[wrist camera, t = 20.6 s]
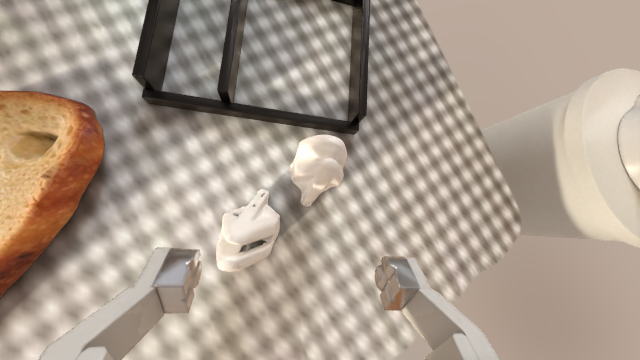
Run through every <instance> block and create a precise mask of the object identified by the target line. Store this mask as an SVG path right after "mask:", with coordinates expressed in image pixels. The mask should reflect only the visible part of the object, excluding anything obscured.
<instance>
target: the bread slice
mask: <svg viewBox="0 0 640 360" xmlns="http://www.w3.org/2000/svg"><path fill="white" fill-rule="evenodd" d="M103 155H104V135H103V129H102V127H101V125H100V124H99V122H98V120H97V118H96V116H95V112H94V110H93V109H91V108H90V107H89V106H87V105H86V104H83V103H80V102H77V101H74V100H70V99H66V98H63V97H59V96H55V95H51V94H46V93H41V92H33V91H0V298H1V297H2V296H3V295H4V293H5V292H6V291H7V289H8V288H9V287H10V286H11V285H12V284H13V283H15V282H16V281H17V280H18V279H19V278H20V276H21V275H22V274H23V273H24V272H25V271H26V270H27V269H28V268H29V267H30V266H31V265H32V263H33V262H34V261H35V260H36V259H37V258H38V257H39V256H40V254H41V253H42V252H43V251H44V250H45V249H46V248H47V247H48V246H49V244H50V243H51V242H52V240H53V239H54V238H55V236H56V235H57V234H58V233H59V231H60V230H61V229H62V228H63V227H64V225H65V224H66V223H67V222H68V221H69V220H70V218H71V217H72V215H73V214H74V212H75V210H76V209H77V207H78V204H79V201H80V198H81V196H82V195H83V193H84V192H85V190H86V188H87V186H88V185H89V183H90V182H91V180H92V178H93V177H94V175H95V173H96V171H97V170H98V168H99V165H100V163H101V161H102V158H103Z"/></svg>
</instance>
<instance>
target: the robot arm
mask: <svg viewBox="0 0 640 360" xmlns="http://www.w3.org/2000/svg"><path fill="white" fill-rule="evenodd" d="M618 142H619V149H620V154H621V157H622V161H623V163H624V166H625V168H626V170H627V172H628V174H629V176H630V178H631V179H632V181H633V182H634V184H635V185H636V186H637V187H638V189H639V190H640V95H639V96H637V98H636V100H635V103H634V106H633V108H632V109H631V110H629V111H628V112H627V113H626V114H625V115H624V116H623V118H622V120H621V123H620V126H619V133H618ZM199 258H200V250H197V249H180V248H161V247H157V248H156V249H155V250H154V251H153V253H152V255H151V256H150V258H149V260H148V262H147V264H146V265H145V267H144V269H143V271H142V273H141V274H140V276H139V278H138V280H137V282H136V283H135V285H134V287H128V288H127V289H126V290H124V291H123V292H121V293H120V294H119V295H117V296H116V297H115V298H113V299H112V300H111V301H109V302H108V303H106V304H105V305H104V306H102V307H101V308H100V309H98V310H97V311H96V312H94V313H93V314H91V315H90V316H89V317H87V318H86V319H85V320H83V321H82V322H81V323H79V324H78V325H76V326H75V327H74V328H72V329H71V330H70V331H68V332H67V333H66V334H64V335H63V336H61V337H60V338H59V339H57V340H56V341H55V342H53V343H52V344H51V345H49V346H48V347H47V348H46V349H45V351H44V352H43V353H42V355H41V356H40V358H39V359H38V360H122V359H123V358H124V356H125V355H126V354H127V353H128V352H129V351H130V350H131V349H132V348H133V347H134V346H135V345H136V344H137V343H138V342H139V341H140V340H141V339H142V338H143V337H144V336H145V335H146V334H147V332H148V331H149V330H150V329H151V328H152V327H153V326H154V325H155V324H156V323H157V322H158V321H159V320H160V319H161V318H162V317H163V316H164V314H165V313H189V310H190V307H191V304H192V301H193V298H194V290H193V289H194V288H195V287H196V286H197V285H198V283H199V279H200V275H201V268H202V264H201V261H200V260H199ZM381 263H382V264H381V265H380V266H378V267H377V269H376V271H375V282H376V285H377V287H378V288H379V289H380V290H381V294H380V298H381V301H382V304H383V307H384V310H402V311H401V312H402V313H403V314H404V315H405V317H406V318H407V319H408V320H409V322H410V323H411V324H412V325H413V326H414V328H415V329H416V330H417V331H418V333H419V334H420V335H421V336H422V337H423V339H424V340H425V341H426V342H427V343H428V345H429V346H430V347H431V348H432V350H433V351H432V352H431V353H430V354H429V355H428V356H427V357H426V359H425V360H500V359H499V358H498V356H497V354H496V353H495V351H494V349H493V348H492V346H491V345H490V343H489V341H488V339H487V338H486V336H485V334H484V333H483V331H481V330H480V329H479V328H478V327H477V326H476V325H474V324H473V323H472V322H471V321H470V320H469V319H468V318H467V317H465V316H464V315H463V314H462V313H461V312H460V311H458V310H457V309H456V308H455V307H454V306H453V305H452V304H451V303H449V302H448V301H447V300H446V299H445V298H444V297H443V296H441V295H440V294H439V293H438V292H437V291H436V290H435V289H431V287H430V285H429V283H428V281H427V279H426V277H425V276H424V274H423V272H422V270H421V268H420V266H419V264H418V262H417V260H416V259H415V258H412V257H383V258H382V260H381Z"/></svg>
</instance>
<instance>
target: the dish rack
mask: <svg viewBox="0 0 640 360" xmlns="http://www.w3.org/2000/svg"><path fill="white" fill-rule="evenodd" d="M247 1H248V0H231V5H230V11H229V18H228V24H227V31H226V37H225V44H224V50H223V57H222V63H221V70H220V76H219V83H218V89H217V90H218V92H219V95H220V98H221V100H222V101H219V100H212V99H206V98H200V97H194V96H188V95H182V94H175V93H169V92H163V91H161V90H162V85H163V80H164V75H165V69H166V64H167V59H168V54H169V49H170V44H171V39H172V34H173V29H174V24H175V19H176V14H177V9H178V4H179V0H149V2H148V6H147V11H146V15H145V20H144V24H143V29H142V33H141V37H140V42H139V46H138V51H137V55H136V60H135V64H134V68H133V73H132V76H133V77H134V78H135V79H136V80H137V81H138V82H139V83H140V84H141V85H142V86H143V87H144V89H143V94H142V98H143V99H144V100H146V101H147V102H148V103H149V104H155V105H161V106H168V107H175V108H181V109H188V110H195V111H201V112H208V113H214V114H221V115H228V116H234V117H241V118H248V119H254V120H261V121H268V122H274V123H281V124H288V125H294V126H301V127H308V128H314V129H321V130H328V131H334V132H341V133H348V134H355V133H356V132H358V131H359V122H360V121H361V120H362V119H363V118H364V117H365V116H366V111H367V80H368V49H369V18H370V0H332V1H336V2H340V3H343V4H347V5H351V6H353V23H352V45H351V66H350V88H349V109H348V121H342V120H336V119H330V118H324V117H318V116H311V115H305V114H299V113H293V112H287V111H281V110H274V109H268V108H262V107H256V106H250V105H243V104H237V103H233V102H234V94H235V87H236V80H237V73H238V66H239V58H240V51H241V44H242V37H243V30H244V23H245V15H246V8H247Z"/></svg>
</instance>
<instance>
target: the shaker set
mask: <svg viewBox="0 0 640 360" xmlns="http://www.w3.org/2000/svg"><path fill="white" fill-rule="evenodd" d="M346 159H347V151H346V147H345V145H344V143H343V141H342V140H341V139H339V138H337V137H335V136H331V135H317V136H312V137H309V138H306V139H304V140H302V141H301V142H300V143H299V145H298V149H297V154H296V157H295V159H294V162H293V163H292V164H291V167H290V175H291V181H292V182H293V183H294V184H295V185H296V186H297V187H298V188H299V189H300V190H301V192H302V196H301V200H300V202H301V204H302V205H304V206H307V207H310V206H311V204H312V203H313V202H314V201H315V199H316V198H317V197H318V196H319V195H320V193H322V192H324V191H326V190H328V189H329V188H331V187H336V186H339V185H340V184H341V183H342V180H343V176H344V174H343V168H344V166H345V164H346ZM263 192H264V193H265V194H264V193H263ZM260 194H262V195H263V194H264V195H263V197H261V196H262V195H260ZM269 195H270V194H269V191H267V190H265V189H264V190H263V189H262V190H259V191H258V192H257V194H256V196H255V197H254V198H253V199H252V200H251V201H250V203H249V204H248V205H247V206H245V207H243V206H242V207H241V208H239V209H236V210H232V211H228V212H226V213H225V214H224V216H223V221H222V230H221V234H220V238H219V241H218V244H217V250H216V255H217V256H216V258H217V266H218V268H219V269H220V270H223V271H227V272H236V271H240V270H242V269H244V268H246V267H248V266H250V265H252V264H254V263H257V262H258V261H260V260H262V259H264V258H266V257H268V256H269V254H270V253H271V250H272V247H273V245H274V242H275V240H276V238H277V236H278V233H279V230H280V227H279V226H280V216H279V214H277V213H276V212H275V211H274V210H273V209H272V208H271V207H269V206H268V197H269ZM254 205H256V207H255V206H254ZM253 206H254V207H253ZM239 211H240V212H239ZM238 214H239V215H240V216H239V215H238ZM237 216H238V217H237ZM261 239H263V240H261ZM258 240H261V241H266V243H263V245H260V246H257V247H254V249H249V250H247V246H246V245H245V244H249V243H252V242H255V241H258ZM258 242H259V241H258ZM246 250H247V251H246Z"/></svg>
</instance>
